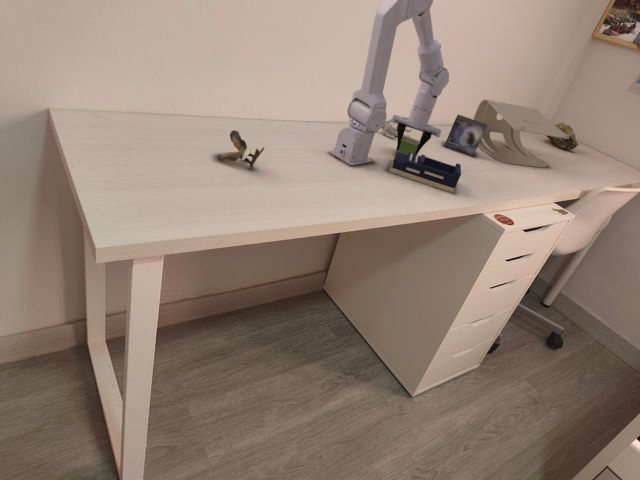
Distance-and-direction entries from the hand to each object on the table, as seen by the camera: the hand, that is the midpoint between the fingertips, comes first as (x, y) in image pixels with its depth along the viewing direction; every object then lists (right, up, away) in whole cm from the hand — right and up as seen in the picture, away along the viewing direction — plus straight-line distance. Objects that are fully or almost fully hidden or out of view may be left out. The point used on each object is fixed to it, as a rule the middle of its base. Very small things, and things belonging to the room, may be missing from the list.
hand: (406, 152), depth 135 cm
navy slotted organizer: (+2, -9, -11) cm, 14 cm away
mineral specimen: (+80, +15, +65) cm, 104 cm away
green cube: (0, -1, +1) cm, 1 cm away
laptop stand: (+44, +6, +34) cm, 56 cm away
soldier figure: (-2, +9, +16) cm, 19 cm away
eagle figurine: (-45, -9, -32) cm, 56 cm away
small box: (+22, +5, +21) cm, 31 cm away
